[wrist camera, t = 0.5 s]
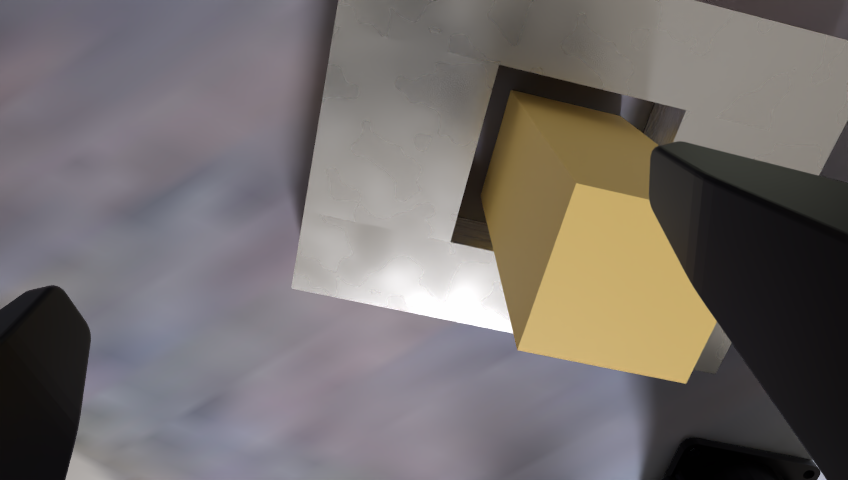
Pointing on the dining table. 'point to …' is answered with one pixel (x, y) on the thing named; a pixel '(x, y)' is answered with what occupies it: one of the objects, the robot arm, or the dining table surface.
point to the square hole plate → (466, 107)
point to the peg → (587, 243)
